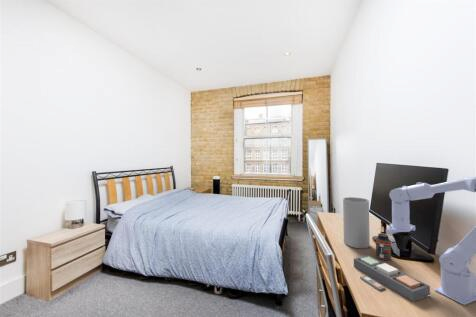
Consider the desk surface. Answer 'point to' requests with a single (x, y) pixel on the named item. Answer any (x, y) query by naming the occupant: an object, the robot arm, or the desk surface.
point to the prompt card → (372, 283)
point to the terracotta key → (408, 282)
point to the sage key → (369, 261)
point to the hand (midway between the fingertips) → (401, 249)
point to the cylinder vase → (356, 222)
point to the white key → (387, 269)
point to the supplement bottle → (383, 247)
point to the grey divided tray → (393, 280)
